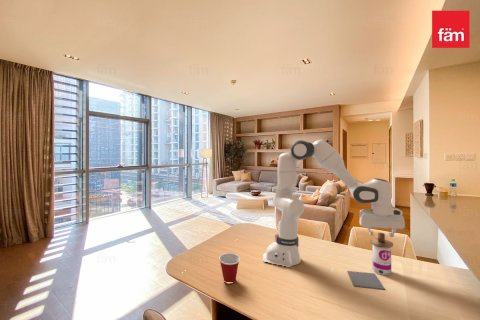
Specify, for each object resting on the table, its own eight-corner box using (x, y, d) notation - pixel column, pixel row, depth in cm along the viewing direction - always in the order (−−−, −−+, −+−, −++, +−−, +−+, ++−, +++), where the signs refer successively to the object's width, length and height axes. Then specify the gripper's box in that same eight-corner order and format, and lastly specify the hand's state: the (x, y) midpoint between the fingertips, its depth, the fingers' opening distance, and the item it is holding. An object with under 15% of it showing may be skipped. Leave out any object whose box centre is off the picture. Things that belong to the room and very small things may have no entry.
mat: (353, 286, 102) (353, 285, 102) (347, 271, 114) (347, 270, 114) (385, 289, 99) (385, 288, 99) (374, 274, 111) (374, 273, 111)
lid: (374, 246, 109) (374, 236, 109) (367, 239, 119) (367, 229, 119) (396, 248, 107) (396, 237, 107) (388, 240, 117) (387, 230, 117)
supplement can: (394, 276, 109) (394, 247, 108) (376, 275, 110) (376, 246, 110) (386, 268, 117) (386, 240, 116) (370, 267, 118) (369, 240, 118)
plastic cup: (235, 289, 101) (234, 264, 101) (215, 284, 106) (214, 260, 106) (244, 277, 111) (243, 254, 111) (225, 273, 116) (225, 251, 115)
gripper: (361, 210, 112) (361, 236, 113) (406, 212, 107) (406, 239, 108) (357, 207, 118) (357, 232, 119) (400, 208, 113) (400, 235, 114)
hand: (381, 235), depth 113 cm, fingers open, 8 cm apart
